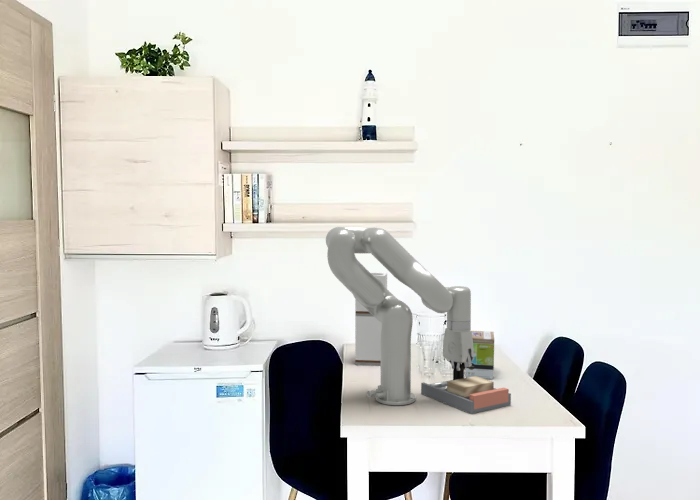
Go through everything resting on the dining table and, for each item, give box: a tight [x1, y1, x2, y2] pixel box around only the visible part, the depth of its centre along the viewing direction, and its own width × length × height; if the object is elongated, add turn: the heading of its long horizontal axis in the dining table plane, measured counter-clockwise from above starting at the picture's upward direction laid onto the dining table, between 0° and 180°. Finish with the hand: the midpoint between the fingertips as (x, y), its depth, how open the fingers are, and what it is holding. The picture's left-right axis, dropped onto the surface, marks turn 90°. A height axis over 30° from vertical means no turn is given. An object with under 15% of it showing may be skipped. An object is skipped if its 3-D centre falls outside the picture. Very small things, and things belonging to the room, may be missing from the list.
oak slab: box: [446, 376, 495, 397], centre depth 195 cm, size 12×8×3 cm, turn 121°
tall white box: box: [354, 272, 388, 367], centre depth 245 cm, size 11×11×35 cm
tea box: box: [465, 330, 495, 380], centre depth 228 cm, size 15×10×15 cm
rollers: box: [428, 379, 470, 400], centre depth 198 cm, size 12×22×2 cm, turn 31°
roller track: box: [420, 382, 512, 415], centre depth 197 cm, size 16×24×4 cm, turn 31°
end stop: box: [470, 387, 510, 409], centre depth 188 cm, size 14×2×4 cm, turn 121°
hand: (458, 381), depth 200 cm, fingers closed
